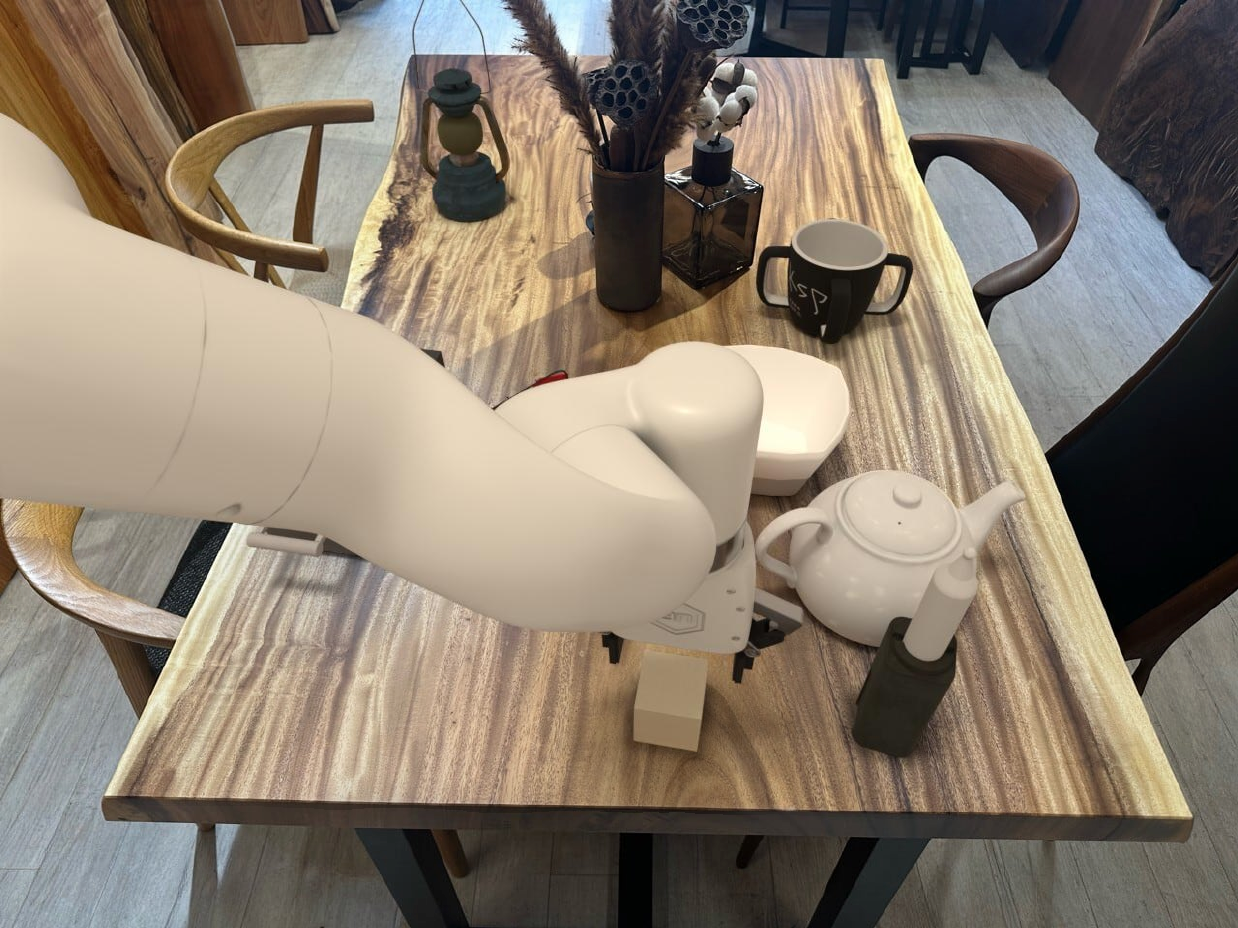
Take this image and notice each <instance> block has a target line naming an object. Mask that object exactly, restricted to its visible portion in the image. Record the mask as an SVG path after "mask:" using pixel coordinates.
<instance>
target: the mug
mask: <svg viewBox="0 0 1238 928" xmlns="http://www.w3.org/2000/svg"><path fill="white" fill-rule="evenodd" d="M771 259H788V260H787V272H786V275H787V280H786V281H787V285H786V286H787V295H780V294H774V293H771V292H770V290H769V288H768V274H769V268H770V263H771ZM757 262H758V263H757V269H756V276H755V288H756V292H757V295H758V297H759V299H760V301H761V302H762V303H763V304H764V305H766V306H768V307H771V308H777V309H786V310H788V312H789V317H790V319H791V322H793V324H794V325H795V326H796V327H797V328H798V329H799V330H801V331H803V332H805V333H807V334H810V335H812V336H816V337H820V340H821V341H822V343H824V344H826V345H837V344H839V343H840V342H841V340H842V338H843V336H846V335H847V334H850V333H851V332H853V331H854V330H855V329H856V328H857V327H858V326H859V325H860V323H861V321H862V320H863V318H864V316H887V315H890V314H892V313H894V312H895V311H896V310H897V309H898V308H899V307H900V306H901V304H903V302H904V301H905V298H906V296H907V293H908V290H909V287H910V284H911V281H912V278H913V274H914V263H913V260H912V259H911V258H910V257H909V256H908V255H906V254H905V255H904V254H899V253H892V252H890V250H889V243H888V242H887V240H886V239H885V238H884V236H883V235H881V233H880V232H878V231H876V230H875V229H874V228H872V227H870V226H868V225H865V224H863V223H860V222H856V221H852V220H848V219H839V218H834V217H830V218H826V219H825V218H824V219H818V220H813V221H809V222H807V223H805V224H802V225H800V226H799V227H798V228H797V229H795V231H794V232H793V233H792V234H791V239H790V245H770V246H769V245H768V246H766V247H764V248H763V250H762V251H761V252H760V254H759V256H758V261H757ZM885 266H891V267H900V272H899V275H898V279H897V283H896V285H895V289H894V290H893V293H892V295H891V296H890V297H889V299H887V300H886V301H884V302H872V300H873V298H874V295H875V293H876V291H877V289H878V287H879V284H880V281H881V279H882V276H883V273H884V270H885Z"/></svg>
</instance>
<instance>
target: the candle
mask: <svg viewBox="0 0 1238 928" xmlns="http://www.w3.org/2000/svg"><path fill="white" fill-rule="evenodd" d="M977 555H978V553H977V552H976V550H975V549H974V548H972V547H966V548H965V549H964V550H963V554H962V555H961V556H960V557H959V558H957V559H956V560H955V561H953V562H950V563H946V564H942V565H941V566H939V567H938V568H937V569H936V570H935V572H934V574H933V576H932V578H931V580H930V582H929V584H928V587H927V589H926V591H925V593H924V595H923V597H922V600H921V602H920V604H919V606H918V608H917V610H916V613H915V615H914V617H913V618H908V617H896V618H894V619H892V620H891V622H890V623H889V626H888V628H887V630H886V633H885V635H884V637H883V640H882V642H881V644H880V647H878V649H877V651H876V653H875V656H874V658H873V661H872V663H871V665H870V668H869V670H868V672H867V674H866V677H865V679H864V682H863V684H862V687H861V688H860V691H859V693H858V695H857V698H856V700H855V705H856V707H857V708H856V715H855V721H854V723H853V726H852V728H851V735H852V738H853V740H854V742H855V743H856V744H858V745H859V746H861V747H863V748H866V749H869V750H873V751H876V752H880V753H883V754H886V755H889V756H893V757H896V758H906V757H908V756H909V755H910V754H911V753H912V751H913V749H914V748H915V746H916V745H917V743H918V741H919V740H920V738H921V736H922V735H923V733H924V731H925V729H926V727H927V726H928V725H929V723H930V721H931V720H932V718H933V716H934V714H935V713H936V711H937V709H938V707H939V706H940V704H941V702H942V701H943V699H944V697H945V695H946V693H947V692H948V690H949V688H950V687H951V685H952V683H953V682H954V681H955V678H956V673H957V657H958V656H957V655H958V639H957V637H956V635H955V634H956V631H957V629H958V627H959V625H960V624H961V622H962V620H963V618H964V616H965V615H966V613H967V611H968V609H969V608H970V605H971V603H972V601H973V600H974V598H975V596H976V594H977V592H978V590H979V582H978V578H977V575H976V576H975V574H974V572H973V559H974V558H975V557H977Z"/></svg>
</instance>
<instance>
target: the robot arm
mask: <svg viewBox="0 0 1238 928" xmlns="http://www.w3.org/2000/svg"><path fill="white" fill-rule="evenodd" d="M723 346H724V345H720V344H716V343H713V342H708V341H699V340H698V341H694V340H692V341H691V340H689V341H680V342H675V343H670V344H667V345H664V346H662V347H659V348H657V349H655V350H653V351H652V352H650V353H649V354H647V355H646V356H644V358H643V359H641V360H640V361H639V362H638V363H636V364H633V365H628V366H624V367H621V368H616V369H613V370H612V369H611V370H607V371H602V372H597V373H591V374H586V375H581V376H575V377H570V378H569V377H568V379H565V380H560V381H555V382H550V383H547V384H543V385H539V386H536V387H533V388H532V387H531V388H529V389H527V390H525V391H523V392H521V393H519V392H518V393H519V394H517V393H516V394H517V395H515V394H514V395H515V396H513V395H512V396H513V397H512V396H511V397H512V398H510V397H509V398H510V399H508V400H507V399H506V400H507V401H505V400H504V401H505V402H504V403H502V404H501V405H500V406H499V407H498V408H497V409H496V410H493V409H492V408H493V407H490V406H489V405H488V404H487V403H486V402H485V401H484V400H483V399H481V398H480V397H479V396H477V394H475V393H474V392H473V391H472V390H471V389H470V388H469V387H468V386H466V385H465V383H463V382H462V381H461V380H459V378H457V377H456V376H455V375H453V373H451V372H450V371H449V370H448V369H447V368H446V367H445V368H444V367H443V366H442V365H440V364H439V363H438V362H437V361H435V360H434V359H433V358H431V357H430V356H429V355H427V354H426V353H424V352H423V351H422V350H420V349H421V348H420V347H418V346H417V345H415V344H414V343H412V342H411V341H409V340H408V339H406V338H405V337H403V336H402V335H401V334H399V333H397V332H395V331H394V330H392V329H391V328H389V327H388V326H386V325H384V324H382V323H381V322H379V321H377V320H375V319H373V318H371V317H368V316H366V315H362V314H359V313H357V312H355V311H352V310H350V309H347V308H343V307H341V306H337V305H334V304H330V303H328V302H325V301H323V300H319V299H316V298H314V297H311V296H308V295H306V294H303V293H300V292H297V291H291V290H289V289H286V288H284V287H281V286H278V285H275V284H272V283H269V282H267V281H264V280H261V279H258V278H256V277H252V276H249V275H247V274H245V273H241V272H238V271H235V270H233V269H230V268H227V267H224V266H222V265H218V264H216V263H213V262H210V261H208V260H206V259H205V260H204V259H202V258H199V257H197V256H194V255H191V254H188V253H185V252H183V251H181V250H179V249H177V248H174V247H173V246H169V245H167V244H163V243H161V242H157V241H155V240H152V239H149V238H146V237H143V236H140V235H138V234H135V233H132V232H129V231H128V230H127V231H126V230H124V229H123V228H119V227H116V226H114V225H112V224H109V223H106V222H103V221H101V220H99V219H97V218H95V217H93V216H92V215H91V212H90V210H89V208H88V206H87V204H86V202H85V200H84V198H83V196H82V194H81V192H80V190H79V188H78V186H77V182H76V181H75V178H74V177H73V176H72V175H71V173H70V172H69V170H68V169H67V167H66V166H65V164H64V163H63V161H62V160H61V159H60V157H58V155H57V154H56V153H55V152H54V151H53V150H52V149H51V148H50V147H49V146H48V145H47V144H45V143H44V141H43V140H42V139H40V137H38V135H36V134H35V133H33V132H32V131H31V130H29V129H28V128H26V127H25V126H23V125H22V124H20V122H17V121H16V120H15V119H13V118H12V117H10V116H7V115H6V114H4V113H2V112H0V499H3V500H11V501H12V500H14V501H23V502H32V503H38V504H39V503H41V504H50V505H57V506H58V505H59V506H68V507H76V508H85V509H94V510H96V509H97V510H103V511H114V512H124V513H125V512H126V513H133V514H144V515H153V516H154V515H155V516H164V517H173V518H181V519H183V518H184V519H194V520H203V521H213V522H222V523H230V524H231V523H233V524H238V525H244V526H252V527H259V526H262V527H272V528H282V529H291V530H298V531H305V532H311V533H315V534H319V535H322V536H324V537H327V538H329V539H331V540H333V541H335V542H337V543H338V544H340V545H342V546H344V547H345V548H347V549H349V550H350V551H352V552H354V553H356V554H357V555H356V556H358V555H359V557H360V558H362V559H364V560H366V561H368V562H369V563H371V564H373V565H375V566H376V567H379V568H380V569H383V571H387V572H389V573H391V574H393V575H395V576H397V577H398V578H401V579H403V580H404V581H407V582H409V583H412V584H414V585H416V586H418V587H421V588H423V589H425V590H427V591H429V592H432V593H434V594H435V595H438V596H440V597H442V598H443V599H446V600H448V601H450V602H451V603H454V604H456V605H458V606H461V607H463V608H465V609H467V610H470V611H471V612H474V613H477V614H478V615H482V616H484V617H487V618H489V619H491V620H495V621H497V622H500V623H504V624H506V625H510V626H513V627H517V628H521V629H526V630H531V631H537V632H544V633H545V632H546V633H597V634H599V635H601V645H602V648H604V649H605V648H607V649H608V658H609V659H608V661H609V664H611V665H617V664H620V660H621V656H622V651H623V645H624V641H625V640H628V641H633V642H639V643H644V644H651V645H656V646H663V647H669V648H676V649H681V650H682V649H683V650H691V651H697V652H704V653H711V654H718V655H719V654H721V655H730V654H734V656H733V667H732V676H731V681H732V682H734V684H737V685H738V684H739V685H742V681H743V675H744V672H745V671H744V670H751V671H752V670H753V668H754V663H755V658H758V657H760V656H761V655H762V653H761V652H762V650H764V649H766V648H770V647H774V646H775V645H779V644H782V643H784V642H785V637H787V636H790V635H792V634H794V632H796V631H798V630H799V629H800V628H802V627H803V617H804V609H803V608H802V607H800V606H798V605H796V604H794V603H792V602H790V601H788V600H785V599H784V598H781V597H779V596H776V595H775V594H772V593H770V592H768V591H766V590H763V589H761V588H760V587H757V586H756V583H757V560H756V558H757V555H756V551H755V539H754V535H753V531H752V528H751V526H750V523H749V522H748V513H749V507H750V500H751V499H750V498H751V494H752V493H751V486H752V480H753V473H754V467H755V460H756V453H757V447H758V440H759V434H760V428H761V421H762V415H763V406H764V393H763V387H762V384H761V381H760V378H759V376H758V374H757V372H756V371H755V369H754V368H753V367H752V366H751V364H750V363H749V362H748V361H747V360H746V359H745V358H743V357H742V356H741V355H740V354H738V353H736V352H734V351H733V350H731V349H728V348H726V347H723ZM759 616H761V617H763V618H760V617H759Z"/></svg>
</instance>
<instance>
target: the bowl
mask: <svg viewBox="0 0 1238 928" xmlns="http://www.w3.org/2000/svg"><path fill="white" fill-rule="evenodd" d="M722 346H723V347H726V348H728V349H731V350H733V351H734V352H736V353H738V354H740V355H741V356H742V357H743V358H745V359H746V360H747V361H748V362H749V363H750V364H751V366H752V367H753V368H754V369H755V371H756V372H757V374H758V376H759V378H760V381H761V384H762V387H763V393H764V406H763V415H762V421H761V428H760V434H759V440H758V447H757V453H756V460H755V467H754V473H753V480H752V486H751V493H750V494H753V495H760V496H761V495H762V496H769V497H791V496H794V495H796V494H797V493H799V491H800V490H801V489H802V487H803V486H804V485H805V484H806V483H807V481H808V480H809V479H810V477H812V475H814V473H815V472H816V471H817V470H818V469H819V467H820V466H821V465H822V464H823V463H824V461H825V460H826V459H827V458H828V457H829V456H830V455H831V453H832V452H833V451H834V449H835V448H836V447H837V446H838V445H839V444H840V442H841V441H842V440H843V437H844V435H845V434H846V431H847V429H848V426H849V423H850V421H851V419H852V416H851V415H852V413H851V412H852V411H851V396H850V395H851V393H850V390H849V387H848V385H847V382H846V380H845V378H844V375H843V371H842V370H841V369H840V367H838V366H836V365H833V364H831V363H829V362H827V361H824V360H822V359H819V358H817V357H816V356H812V355H809V354H806V353H802V352H798V351H794V350H792V349H788V348H783V347H776V346H767V345H757V344H756V345H755V344H737V345H735V344H734V345H722Z"/></svg>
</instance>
